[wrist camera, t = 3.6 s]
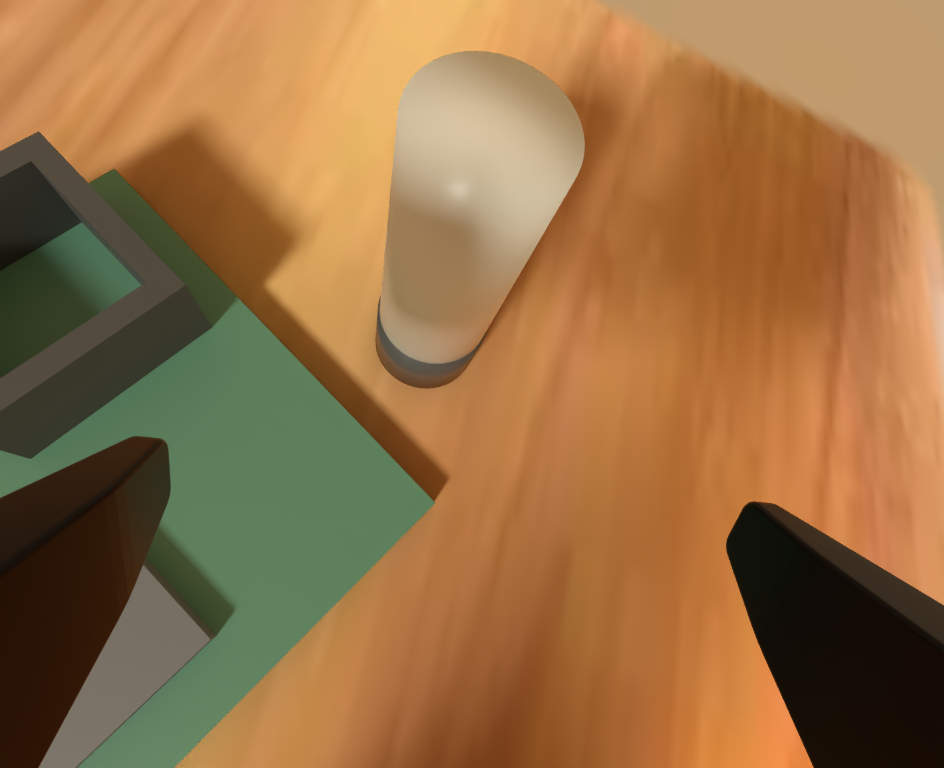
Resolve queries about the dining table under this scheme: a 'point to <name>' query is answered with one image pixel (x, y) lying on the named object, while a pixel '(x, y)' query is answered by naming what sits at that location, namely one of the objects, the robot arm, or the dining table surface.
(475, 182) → the white cylinder
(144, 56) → the dining table surface
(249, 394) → the board
